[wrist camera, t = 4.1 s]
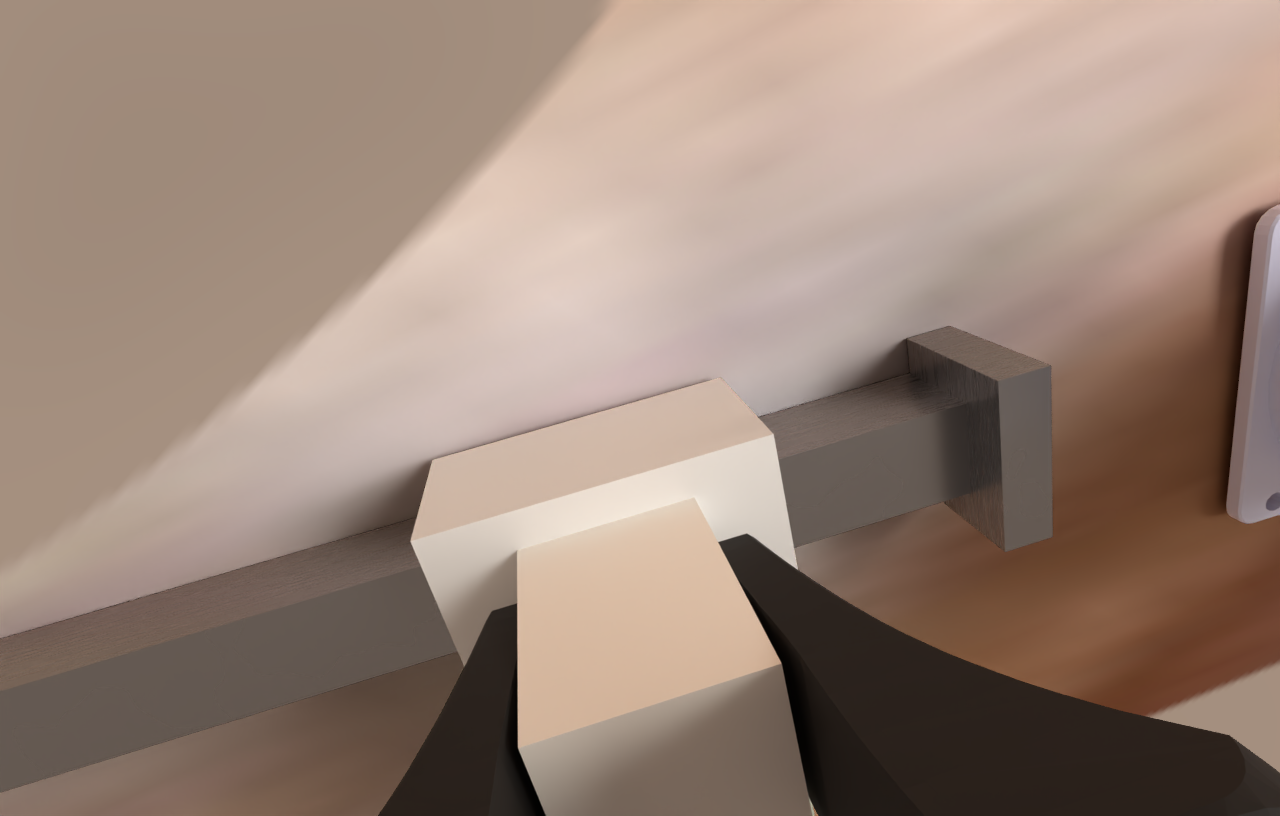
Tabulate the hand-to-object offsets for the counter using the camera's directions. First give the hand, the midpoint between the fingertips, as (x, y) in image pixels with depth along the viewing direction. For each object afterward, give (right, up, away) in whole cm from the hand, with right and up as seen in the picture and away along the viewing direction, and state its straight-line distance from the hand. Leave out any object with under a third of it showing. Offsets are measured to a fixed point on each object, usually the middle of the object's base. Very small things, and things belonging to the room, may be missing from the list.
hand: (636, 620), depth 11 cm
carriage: (-1, +1, +4) cm, 4 cm away
